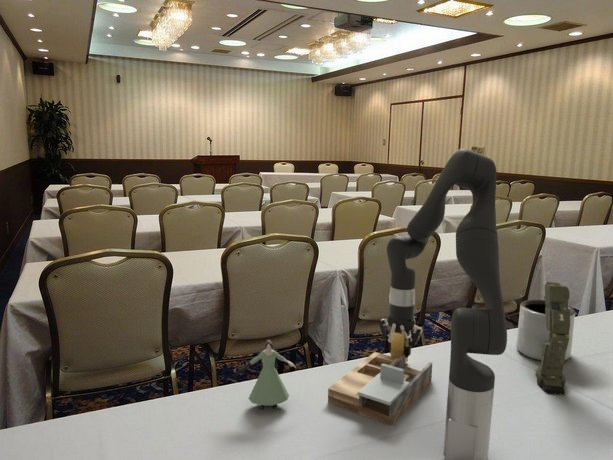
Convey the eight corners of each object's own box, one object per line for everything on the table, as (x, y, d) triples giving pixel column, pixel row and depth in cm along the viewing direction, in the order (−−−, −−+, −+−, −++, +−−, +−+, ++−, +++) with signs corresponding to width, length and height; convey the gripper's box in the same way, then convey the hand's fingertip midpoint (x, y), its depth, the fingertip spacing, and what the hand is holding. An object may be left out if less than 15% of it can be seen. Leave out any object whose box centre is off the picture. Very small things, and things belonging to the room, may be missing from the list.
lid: (389, 405, 118) (390, 388, 117) (357, 394, 123) (358, 378, 122) (409, 385, 128) (410, 369, 127) (379, 375, 132) (379, 360, 132)
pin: (402, 366, 149) (404, 334, 148) (390, 362, 152) (391, 331, 150) (407, 361, 153) (409, 330, 151) (395, 357, 155) (397, 327, 153)
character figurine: (234, 418, 122) (233, 349, 118) (233, 401, 130) (232, 336, 126) (298, 412, 125) (299, 345, 121) (293, 396, 133) (293, 332, 129)
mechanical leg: (574, 399, 131) (577, 285, 132) (544, 396, 132) (548, 283, 134) (558, 386, 144) (561, 282, 146) (531, 383, 146) (535, 281, 147)
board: (391, 425, 120) (392, 404, 119) (327, 402, 130) (328, 383, 129) (431, 380, 142) (432, 362, 141) (374, 364, 152) (374, 347, 151)
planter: (580, 364, 153) (586, 316, 150) (527, 363, 153) (532, 315, 150) (556, 343, 169) (560, 299, 166) (508, 342, 169) (512, 298, 166)
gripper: (429, 302, 148) (426, 356, 151) (385, 293, 156) (383, 345, 159) (420, 309, 142) (416, 365, 145) (374, 300, 149) (372, 353, 153)
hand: (399, 354), depth 152 cm, fingers closed on pin, 4 cm apart
